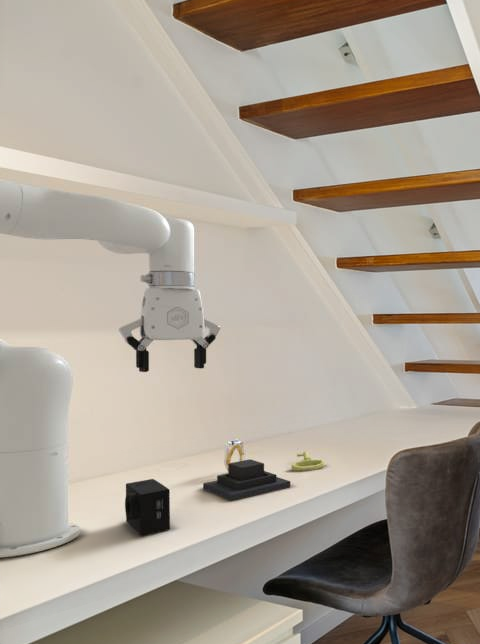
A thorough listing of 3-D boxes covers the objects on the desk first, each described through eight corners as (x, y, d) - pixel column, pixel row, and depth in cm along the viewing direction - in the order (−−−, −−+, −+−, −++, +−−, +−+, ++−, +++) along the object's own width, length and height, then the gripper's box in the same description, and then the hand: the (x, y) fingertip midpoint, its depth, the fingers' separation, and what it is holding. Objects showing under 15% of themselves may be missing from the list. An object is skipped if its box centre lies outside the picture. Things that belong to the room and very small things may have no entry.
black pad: (242, 487, 121) (241, 467, 121) (228, 482, 126) (228, 463, 126) (264, 482, 125) (264, 463, 125) (250, 477, 129) (250, 459, 129)
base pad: (231, 500, 116) (231, 487, 116) (203, 488, 125) (203, 476, 125) (290, 486, 125) (290, 474, 125) (259, 476, 134) (259, 464, 134)
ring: (238, 469, 142) (237, 435, 142) (250, 469, 141) (250, 435, 141) (219, 477, 135) (218, 441, 135) (232, 477, 134) (231, 442, 134)
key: (307, 458, 151) (306, 450, 151) (327, 467, 142) (327, 458, 142) (278, 464, 146) (277, 455, 146) (297, 473, 137) (297, 464, 137)
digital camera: (117, 524, 104) (117, 484, 104) (153, 516, 108) (153, 477, 108) (131, 538, 96) (131, 495, 96) (169, 529, 100) (169, 488, 100)
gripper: (126, 279, 106) (126, 374, 106) (226, 283, 119) (227, 367, 119) (113, 281, 111) (113, 372, 111) (211, 285, 124) (211, 366, 124)
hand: (172, 369), depth 115 cm, fingers open, 9 cm apart
